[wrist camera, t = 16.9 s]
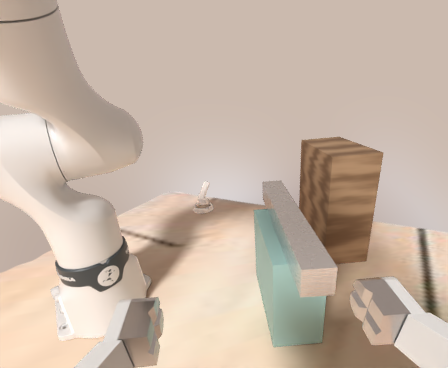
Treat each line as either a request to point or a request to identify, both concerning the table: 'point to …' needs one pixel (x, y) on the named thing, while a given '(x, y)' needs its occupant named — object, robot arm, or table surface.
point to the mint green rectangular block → (284, 291)
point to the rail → (300, 244)
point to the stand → (340, 194)
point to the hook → (203, 200)
